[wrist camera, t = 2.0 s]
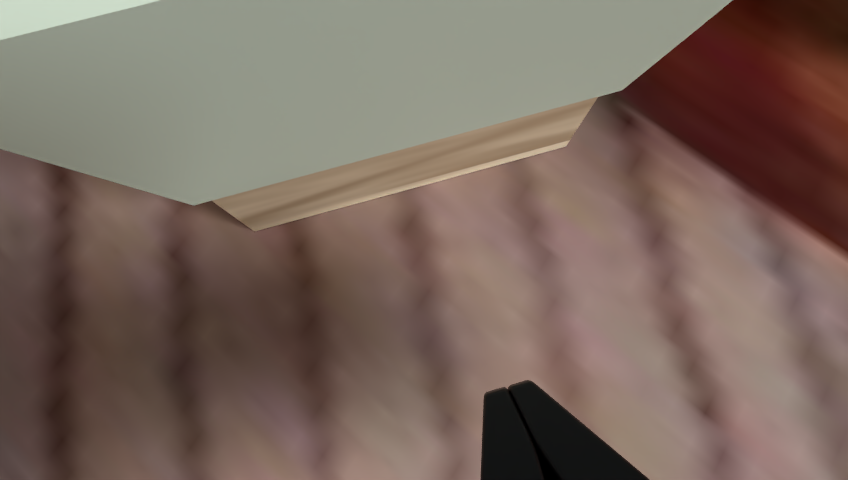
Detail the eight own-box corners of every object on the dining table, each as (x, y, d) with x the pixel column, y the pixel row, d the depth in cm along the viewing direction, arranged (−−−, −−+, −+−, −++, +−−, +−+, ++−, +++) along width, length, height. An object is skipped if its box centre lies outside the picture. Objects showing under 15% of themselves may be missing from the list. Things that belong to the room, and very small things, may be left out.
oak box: (565, 146, 20) (610, 77, 15) (254, 231, 19) (194, 188, 14) (493, -50, 22) (512, -168, 17) (209, 22, 21) (142, -79, 16)
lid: (608, 63, 15) (617, 93, 15) (189, 174, 14) (198, 207, 14) (956, -284, 5) (983, -204, 5) (-223, -3, 5) (-200, 90, 5)
